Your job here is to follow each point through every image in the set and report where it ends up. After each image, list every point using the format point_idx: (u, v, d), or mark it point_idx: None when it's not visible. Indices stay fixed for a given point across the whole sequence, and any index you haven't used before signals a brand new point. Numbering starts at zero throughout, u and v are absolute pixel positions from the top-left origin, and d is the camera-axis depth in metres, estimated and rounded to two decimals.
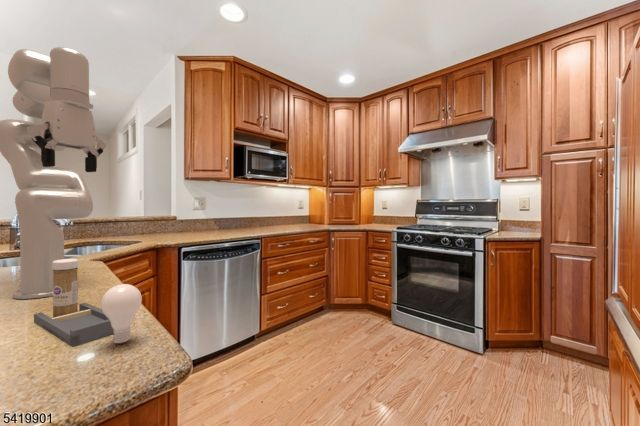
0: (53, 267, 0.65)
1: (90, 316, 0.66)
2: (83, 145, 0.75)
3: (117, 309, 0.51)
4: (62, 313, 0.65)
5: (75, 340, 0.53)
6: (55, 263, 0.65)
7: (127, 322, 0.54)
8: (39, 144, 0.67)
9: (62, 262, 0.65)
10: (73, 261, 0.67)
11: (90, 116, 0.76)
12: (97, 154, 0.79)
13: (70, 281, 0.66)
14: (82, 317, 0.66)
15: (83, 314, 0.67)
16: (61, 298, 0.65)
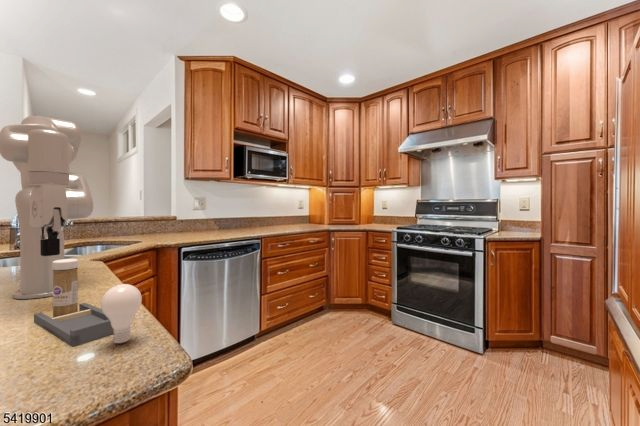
0: (53, 267, 0.65)
1: (90, 316, 0.66)
2: None
3: (116, 309, 0.51)
4: (62, 313, 0.65)
5: (75, 340, 0.53)
6: (55, 263, 0.65)
7: (127, 322, 0.54)
8: (53, 236, 0.71)
9: (62, 262, 0.65)
10: (73, 261, 0.67)
11: None
12: None
13: (70, 281, 0.66)
14: (82, 317, 0.66)
15: (83, 314, 0.67)
16: (61, 298, 0.65)
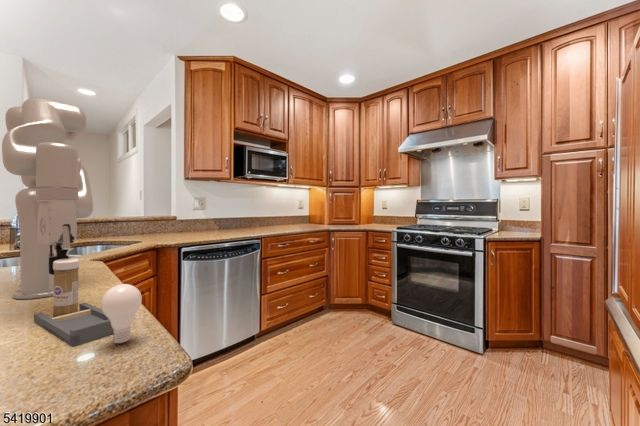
0: (54, 267, 0.65)
1: (90, 316, 0.66)
2: None
3: (116, 309, 0.51)
4: (62, 313, 0.65)
5: (75, 340, 0.53)
6: (56, 263, 0.64)
7: (127, 322, 0.54)
8: (62, 253, 0.68)
9: (63, 262, 0.65)
10: (74, 261, 0.66)
11: None
12: None
13: (71, 281, 0.66)
14: (82, 317, 0.66)
15: (83, 314, 0.67)
16: (61, 298, 0.65)
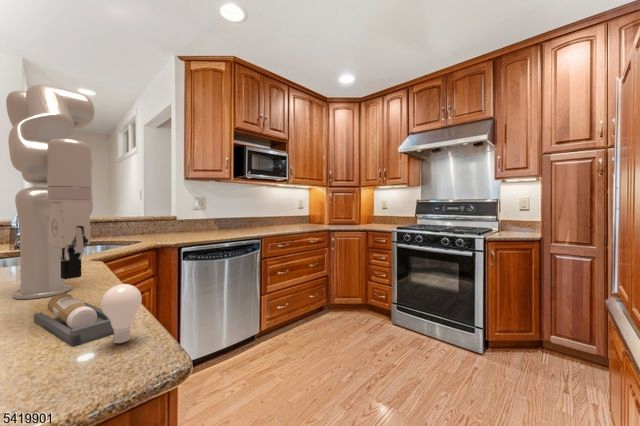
0: None
1: None
2: None
3: (116, 309, 0.51)
4: None
5: (75, 340, 0.53)
6: None
7: (127, 322, 0.54)
8: (75, 257, 0.64)
9: None
10: None
11: None
12: None
13: None
14: None
15: None
16: None
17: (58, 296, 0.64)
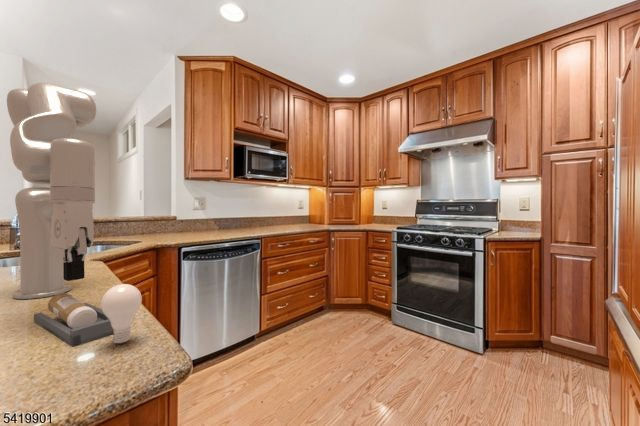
0: (71, 328, 0.58)
1: None
2: None
3: (116, 309, 0.51)
4: None
5: (75, 340, 0.53)
6: None
7: (127, 322, 0.54)
8: (78, 258, 0.63)
9: None
10: None
11: None
12: None
13: None
14: None
15: None
16: None
17: (58, 296, 0.64)
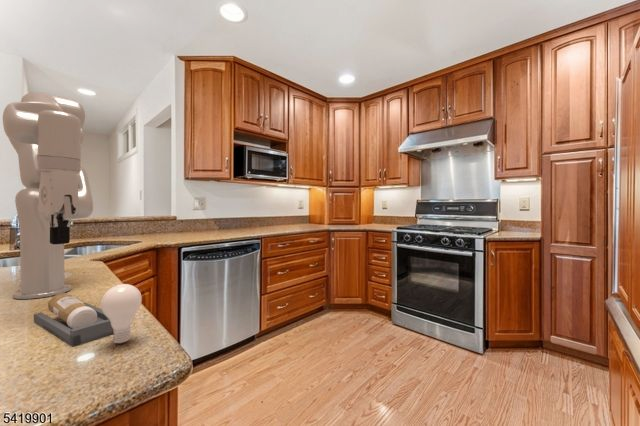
0: (71, 328, 0.58)
1: None
2: None
3: (116, 309, 0.51)
4: None
5: (75, 340, 0.53)
6: None
7: (127, 322, 0.54)
8: (63, 224, 0.68)
9: None
10: None
11: None
12: None
13: None
14: None
15: None
16: None
17: (58, 296, 0.64)
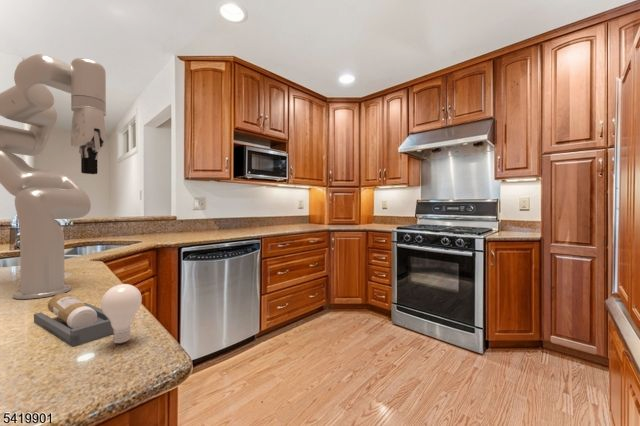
0: (71, 328, 0.58)
1: None
2: None
3: (116, 309, 0.51)
4: None
5: (75, 340, 0.53)
6: None
7: (127, 322, 0.54)
8: (93, 155, 0.80)
9: None
10: None
11: None
12: None
13: None
14: None
15: None
16: None
17: (58, 296, 0.64)
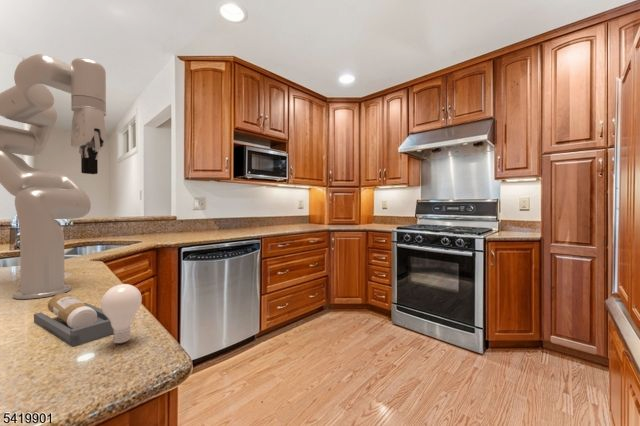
0: (71, 328, 0.58)
1: None
2: None
3: (116, 309, 0.51)
4: None
5: (75, 340, 0.53)
6: None
7: (127, 322, 0.54)
8: (93, 155, 0.80)
9: None
10: None
11: None
12: None
13: None
14: None
15: None
16: None
17: (58, 296, 0.64)
